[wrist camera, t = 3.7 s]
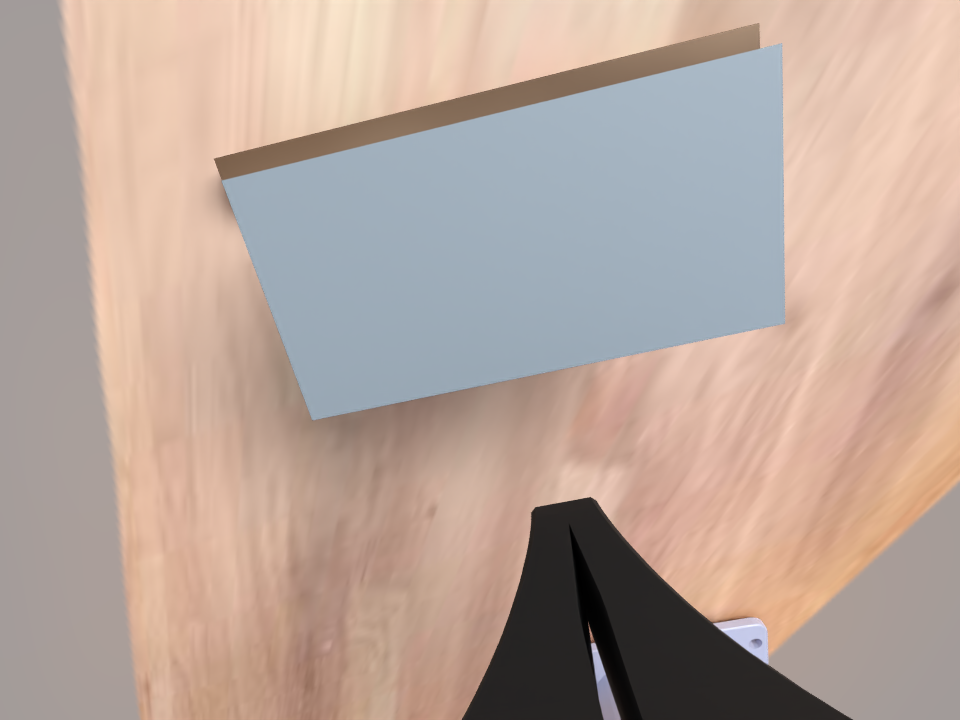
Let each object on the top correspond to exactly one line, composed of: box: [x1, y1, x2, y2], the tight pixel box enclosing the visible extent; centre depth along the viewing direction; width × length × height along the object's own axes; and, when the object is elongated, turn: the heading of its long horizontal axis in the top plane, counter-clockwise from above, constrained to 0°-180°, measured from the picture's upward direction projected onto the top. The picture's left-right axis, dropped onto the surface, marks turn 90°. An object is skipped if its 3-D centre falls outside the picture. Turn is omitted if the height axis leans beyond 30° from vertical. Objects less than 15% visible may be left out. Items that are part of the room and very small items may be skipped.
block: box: [222, 43, 785, 420], centre depth 11 cm, size 4×8×8 cm, turn 102°
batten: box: [214, 23, 760, 180], centre depth 13 cm, size 1×14×1 cm, turn 102°
